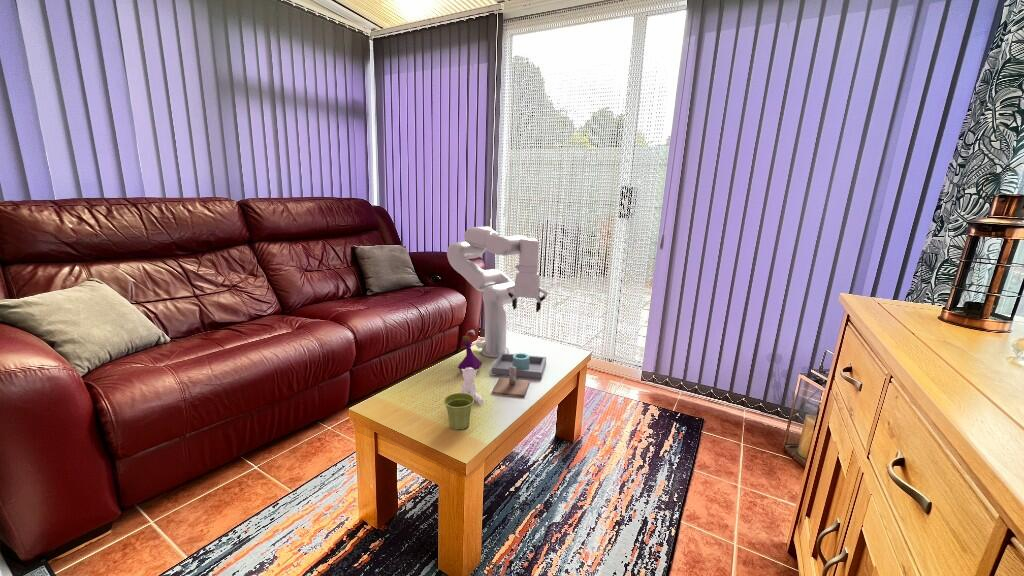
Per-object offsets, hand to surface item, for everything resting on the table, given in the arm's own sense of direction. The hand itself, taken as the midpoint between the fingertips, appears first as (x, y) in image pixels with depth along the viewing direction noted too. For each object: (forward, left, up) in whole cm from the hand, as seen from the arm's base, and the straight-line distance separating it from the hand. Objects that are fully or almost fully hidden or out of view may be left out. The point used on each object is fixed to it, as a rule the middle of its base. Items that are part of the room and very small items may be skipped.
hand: (526, 309), depth 171 cm
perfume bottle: (-20, -13, -24) cm, 34 cm away
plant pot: (-12, -51, -24) cm, 58 cm away
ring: (-1, -7, -24) cm, 25 cm away
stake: (-1, -23, -24) cm, 33 cm away
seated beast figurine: (-14, -35, -24) cm, 45 cm away
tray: (-1, -5, -24) cm, 25 cm away
